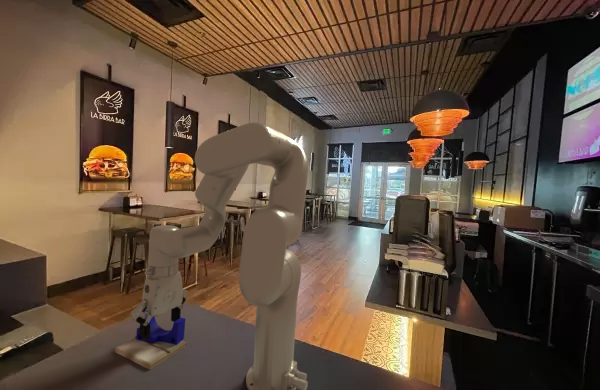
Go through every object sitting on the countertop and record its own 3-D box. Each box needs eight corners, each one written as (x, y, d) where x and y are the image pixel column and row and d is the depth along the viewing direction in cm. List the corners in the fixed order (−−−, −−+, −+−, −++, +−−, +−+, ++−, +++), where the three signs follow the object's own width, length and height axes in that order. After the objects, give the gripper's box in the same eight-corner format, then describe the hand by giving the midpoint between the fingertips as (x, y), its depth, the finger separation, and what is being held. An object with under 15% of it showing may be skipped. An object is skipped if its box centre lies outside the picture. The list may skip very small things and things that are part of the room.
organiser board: (186, 346, 75) (186, 341, 75) (150, 369, 65) (150, 363, 65) (152, 332, 81) (153, 327, 81) (115, 352, 71) (115, 346, 71)
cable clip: (136, 339, 74) (137, 317, 74) (148, 331, 79) (150, 311, 79) (173, 347, 72) (174, 325, 72) (183, 339, 76) (185, 318, 76)
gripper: (142, 281, 65) (140, 349, 66) (197, 264, 81) (194, 319, 81) (123, 275, 68) (121, 340, 69) (179, 260, 84) (177, 313, 84)
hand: (161, 329), depth 75 cm, fingers open, 9 cm apart
